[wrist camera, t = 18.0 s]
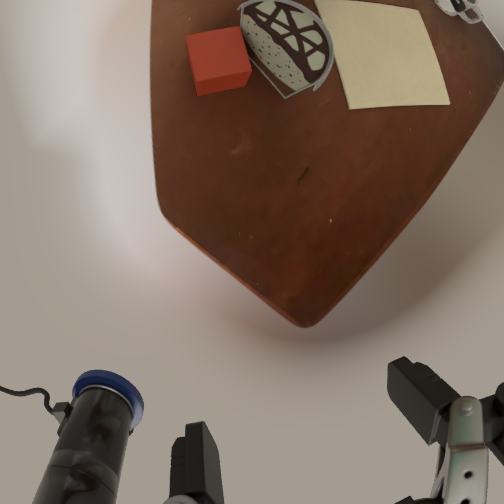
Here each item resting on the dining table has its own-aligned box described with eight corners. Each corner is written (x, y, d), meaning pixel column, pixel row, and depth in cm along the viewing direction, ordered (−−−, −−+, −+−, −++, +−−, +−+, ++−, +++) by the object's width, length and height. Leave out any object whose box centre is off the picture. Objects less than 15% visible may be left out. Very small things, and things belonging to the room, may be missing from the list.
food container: (326, 84, 35) (361, 60, 25) (292, 108, 35) (320, 86, 26) (267, 18, 32) (284, -21, 22) (230, 39, 32) (239, 0, 22)
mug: (427, -4, 33) (448, -17, 26) (435, -16, 32) (455, -29, 25) (464, 34, 35) (486, 25, 29) (470, 19, 34) (491, 10, 28)
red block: (197, 96, 33) (195, 81, 28) (187, 55, 32) (185, 35, 26) (245, 86, 34) (252, 70, 28) (234, 46, 32) (239, 25, 26)
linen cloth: (349, 109, 36) (350, 108, 36) (313, 0, 32) (314, -2, 31) (448, 104, 38) (450, 104, 37) (416, 11, 33) (418, 10, 33)
